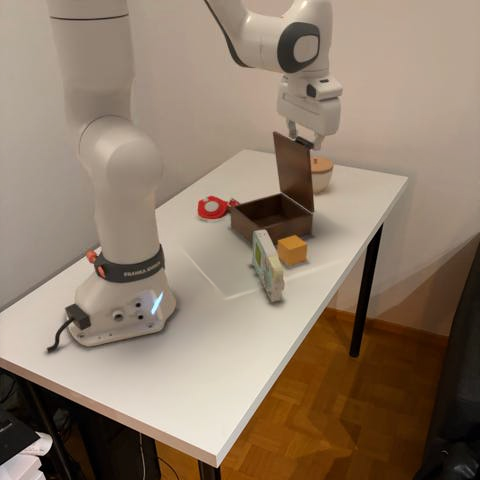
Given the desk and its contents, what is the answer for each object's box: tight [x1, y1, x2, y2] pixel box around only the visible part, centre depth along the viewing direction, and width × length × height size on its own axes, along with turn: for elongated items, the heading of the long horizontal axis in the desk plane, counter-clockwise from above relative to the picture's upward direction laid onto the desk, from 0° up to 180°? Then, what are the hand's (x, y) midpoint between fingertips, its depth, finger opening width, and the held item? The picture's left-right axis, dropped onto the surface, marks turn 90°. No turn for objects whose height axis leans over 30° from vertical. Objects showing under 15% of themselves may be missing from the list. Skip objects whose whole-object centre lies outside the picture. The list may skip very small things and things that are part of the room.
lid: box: [272, 130, 315, 214], centre depth 119 cm, size 16×15×5 cm
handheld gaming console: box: [251, 230, 285, 303], centre depth 105 cm, size 11×3×15 cm
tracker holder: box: [197, 195, 242, 220], centre depth 134 cm, size 12×4×10 cm
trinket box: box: [310, 156, 335, 194], centre depth 142 cm, size 11×11×9 cm
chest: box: [229, 192, 314, 247], centre depth 123 cm, size 16×15×6 cm
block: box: [276, 235, 308, 266], centre depth 113 cm, size 5×5×5 cm
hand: (304, 143), depth 115 cm, fingers open, 8 cm apart
